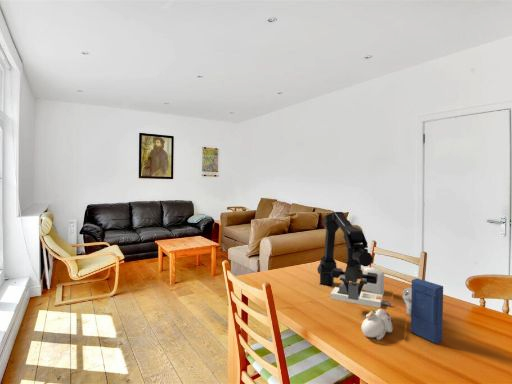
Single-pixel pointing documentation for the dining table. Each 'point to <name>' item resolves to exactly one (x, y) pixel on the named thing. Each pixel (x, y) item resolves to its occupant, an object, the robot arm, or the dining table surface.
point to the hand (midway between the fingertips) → (353, 294)
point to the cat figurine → (377, 324)
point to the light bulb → (407, 299)
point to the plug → (353, 290)
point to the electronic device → (427, 310)
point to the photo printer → (379, 286)
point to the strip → (360, 298)
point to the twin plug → (342, 289)
